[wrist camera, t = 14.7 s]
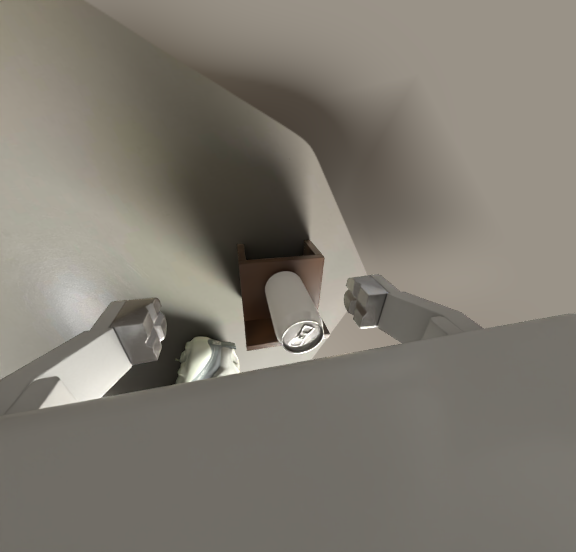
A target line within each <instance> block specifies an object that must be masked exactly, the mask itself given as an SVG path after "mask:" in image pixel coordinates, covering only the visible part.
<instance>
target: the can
mask: <svg viewBox="0 0 576 552" xmlns="http://www.w3.org/2000/svg"><path fill="white" fill-rule="evenodd" d="M265 293H266V298H267V302H268V306H269V310H270V314H271V318H272V322H273V326H274V330H275V334H276V337H277V339H278V340H279V342H280V343H281V344H282V346H283V348H284V349H285V350H286V351H288V352H291V353H304V352H307V351H310V350H312V349H313V348H315V347H316V346H317V345H318V344H319V343H320V342H321V341H322V339H323V336H324V329H323V322H322V319H321V316H320V314H319V312H318V310H317V308H316V307H315V305H314V303H313V301H312V299H311V297H310V295H309V293H308V291H307V290H306V288H305V286H304V284H303V282H302V280H301V279H300V277H299V276H298V275H297V274H295V273H293V272H290V271H282V272H279V273H276V274H274V275H273V276H272V277H270V278H269V280H268V281H267V283H266V286H265Z"/></svg>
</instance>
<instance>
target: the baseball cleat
mask: <svg viewBox="0 0 576 552" xmlns="http://www.w3.org/2000/svg"><path fill="white" fill-rule="evenodd" d="M234 349H236V346H235V343H231V342H220V341H218V340H212V339H210V338H208V337H194V338H193V340H192V341H190V342H187V343H186V346H185V351H184V352H182V353H181V357H180V362H181V363H182V364H181V367H180V369H179V370H178V375H179V376H178V378H177V381H176V384H181V383H186V382H192V381H197V380H203V379H208V378H214V377H220V376H225V375H231V374H236V373H240V368H239V360H238V358H237V356H236V355H235V351H234ZM175 360H176V361H179V360H178V359H175Z"/></svg>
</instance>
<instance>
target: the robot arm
mask: <svg viewBox="0 0 576 552" xmlns="http://www.w3.org/2000/svg"><path fill="white" fill-rule="evenodd" d="M346 286H347V288H348V290H347V291H346V293H345V294H344V305H345V308H346V310H347V311H348V313H350V314H352V315H354V317H353V320H354V321H355V322H356V324H357V325H358V326H359V328H360V329H362V328H370V327H378V328H379V329H380V330H382V331H384V332H385V333H387V334H388V335H390V336H391V337H393V338H395V339H396V340H398V341H399V342H401V343H402V344H398V345H392V346H387V347H381V348H375V349H370V350H364V351H359V352H353V353H347V354H342V355H336V356H331V357H325V358H319V359H314V360H308V361H303V362H297V363H291V364H286V365H280V366H275V367H269V368H264V369H258V370H253V371H247V372H242V373H236V374H231V375H225V376H220V377H214V378H208V379H203V380H197V381H192V382H186V383H181V384H175V385H170V386H164V387H158V388H153V389H147V390H142V391H136V392H131V393H125V394H120V395H114V396H108V397H103V398H101V397H102V396H103V395H104V394H105V393H106V392H107V391H108V390H109V389H110V388H111V387H112V386H113V385H114V384H115V383H116V382H117V381H118V380H119V379H120V378H121V377H122V376H123V375H124V374H125V373H126V372H127V371H128V370H129V369H130V368H131V367H132V365H136V364H141V363H147V362H152V361H157V360H158V357H159V354H160V351H161V348H162V345H161V343H160V342H161V341H162V340H163V339H164V338H165V336H166V332H167V323H166V318H165V315H164V314H162V313H161V312H160V309H161V307H162V306H161V303H160V300H159V299H158V298H145V299H133V300H122V301H114V302H111V303H110V304H109V305H108V307H107V308H106V309H105V311H104V312H103V313H102V315H101V316H100V317H99V319H98V320H97V321H96V323H95V324H94V325H93V327H92V328H91V329H90V331H84V332H82V333H81V334H79V335H77V336H75V337H74V338H72V339H70V340H69V341H67V342H65V343H63V344H62V345H60V346H58V347H56V348H55V349H53V350H51V351H50V352H48V353H46V354H44V355H43V356H41V357H39V358H37V359H36V360H34V361H32V362H31V363H29V364H27V365H25V366H24V367H22V368H20V369H18V370H17V371H15V372H13V373H12V374H10V375H8V376H6V377H5V378H3V379H1V380H0V552H576V314H564V315H558V316H552V317H547V318H542V319H536V320H530V321H525V322H519V323H514V324H508V325H503V326H497V327H492V328H486V329H484V328H482V327H481V326H480V325H478V324H477V323H475V322H474V321H473V320H471V319H470V318H468V317H467V316H466V315H464V314H463V313H462V312H459V311H457V310H454V309H451V308H448V307H445V306H443V305H440V304H437V303H434V302H431V301H428V300H426V299H423V298H420V297H417V296H415V295H412V294H409V293H406V292H400V291H399V290H398V289H397V288H396V287H394V286H393V285H392V284H391V283H390V282H389V281H387V280H386V279H385V278H384V277H383V276H381V275H379V274H376V275H368V276H361V277H353V278H348V280H347V284H346Z"/></svg>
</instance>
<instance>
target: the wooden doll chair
mask: <svg viewBox="0 0 576 552" xmlns="http://www.w3.org/2000/svg"><path fill="white" fill-rule="evenodd" d="M237 251H238V262H239V273H240V283H241V293H242V303H243V314H244V324H245V335H246V347H247V351H250V350H256V349H262V348H268V347H275V346H281V345H282V344H281V343H280V342H279V340H278V339H277V337H276V334H275V330H274V326H273V322H272V318H271V314H270V310H269V306H268V302H267V298H266V293H265V286H266V283H267V281H268V280H269V278H270V277H272V276H273V275H274V274H276V273H279V272H282V271H290V272H293V273H295V274H297V275H298V276H299V277H300V279H301V280H302V282H303V284H304V286H305V288H306V290H307V291H308V293H309V295H310V297H311V299H312V301H313V303H314V305H315V307H316V308H317V310H318V307H319V298H320V290H321V282H322V273H323V265H324V256H323V255H322V254H321V252H320V251H319V250H318V249H317V248H316V247H315V245H314V244H313V243H312V242H311V241H310V240H304V249H303V256H295V257H281V258H268V259H255V260H246V256H245V250H244V244H237ZM321 319H322V318H321ZM322 322H323V320H322ZM323 329H324V336H323V339H325V338H329V336H330V333H329V331H328V329H327V327H326V325H325V324H324V322H323Z"/></svg>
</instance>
